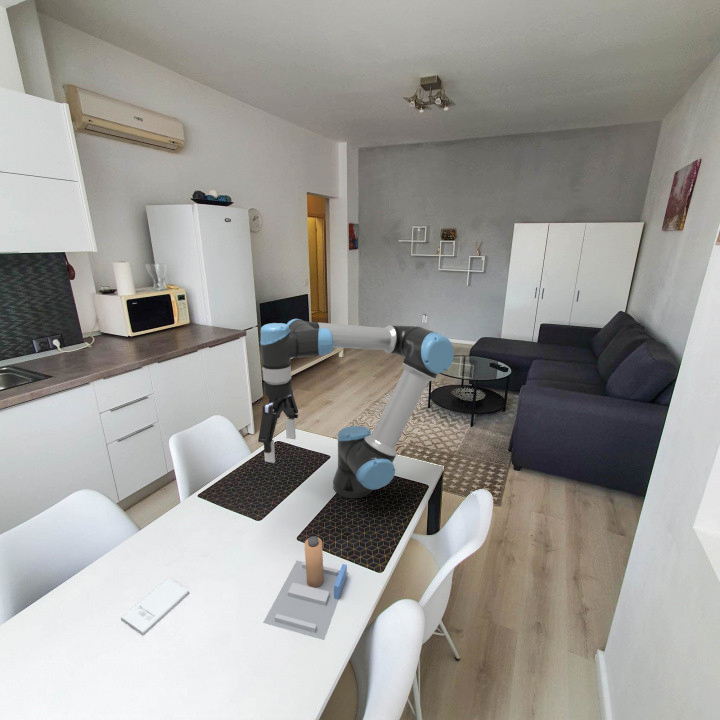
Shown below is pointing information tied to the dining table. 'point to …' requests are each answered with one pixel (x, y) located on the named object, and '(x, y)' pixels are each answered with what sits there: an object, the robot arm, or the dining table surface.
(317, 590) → the gray ribbed plate
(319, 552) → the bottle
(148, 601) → the external hard drive
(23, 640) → the dining table surface
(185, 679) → the dining table surface
